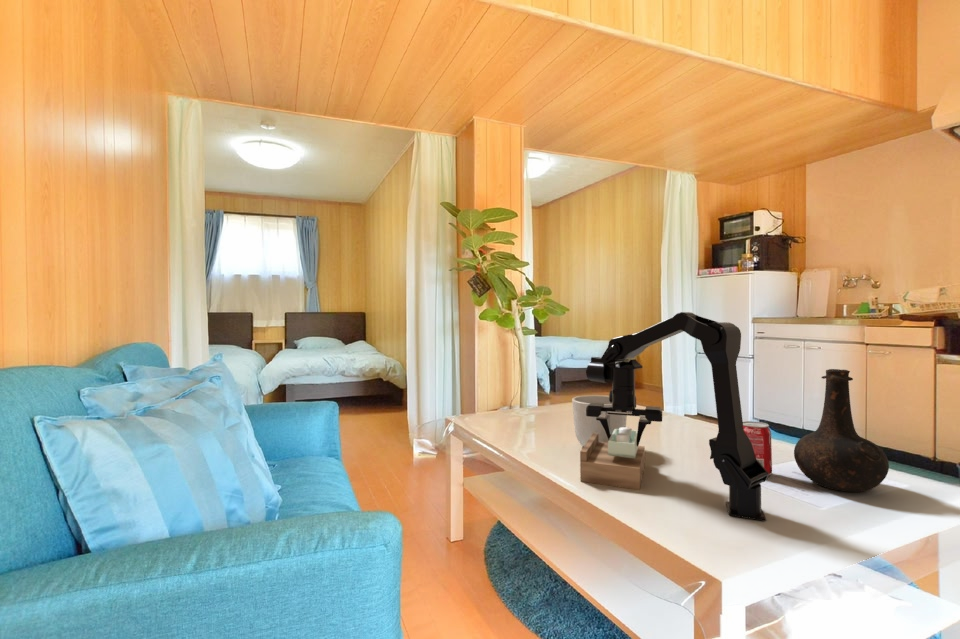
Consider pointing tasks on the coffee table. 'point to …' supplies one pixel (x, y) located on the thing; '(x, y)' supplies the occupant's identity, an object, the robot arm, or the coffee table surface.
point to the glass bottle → (840, 445)
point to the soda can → (760, 442)
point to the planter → (593, 418)
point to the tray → (623, 443)
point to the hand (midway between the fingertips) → (624, 444)
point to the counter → (610, 465)
